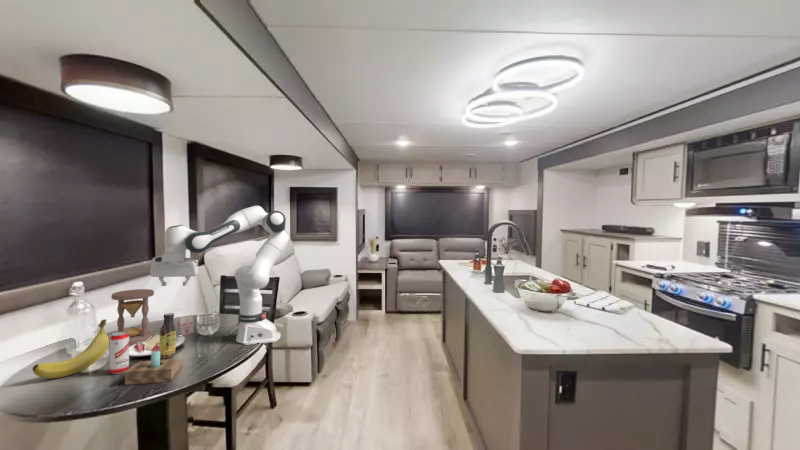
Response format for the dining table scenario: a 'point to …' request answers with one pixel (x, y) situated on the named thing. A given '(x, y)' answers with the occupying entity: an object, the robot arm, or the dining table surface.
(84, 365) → the banana
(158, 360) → the peg
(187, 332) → the white red printed box
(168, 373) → the socket block
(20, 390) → the dining table surface
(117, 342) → the beer can
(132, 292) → the hourglass
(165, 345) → the sauce bottle
